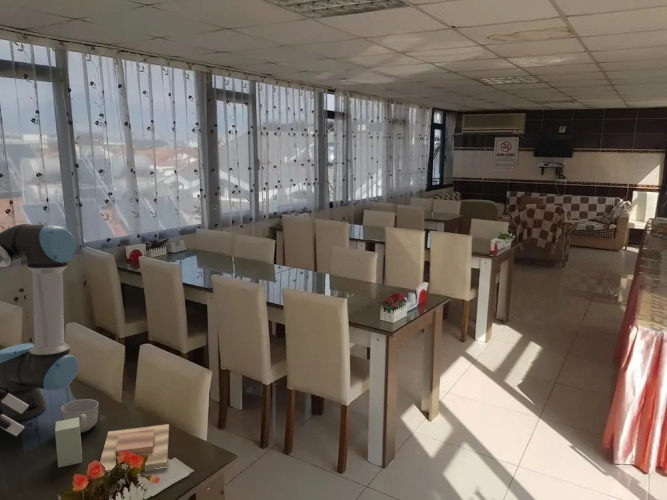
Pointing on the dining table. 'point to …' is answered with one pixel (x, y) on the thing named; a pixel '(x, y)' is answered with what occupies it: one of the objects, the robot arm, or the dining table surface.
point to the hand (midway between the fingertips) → (23, 420)
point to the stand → (138, 445)
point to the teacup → (81, 412)
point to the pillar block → (68, 442)
